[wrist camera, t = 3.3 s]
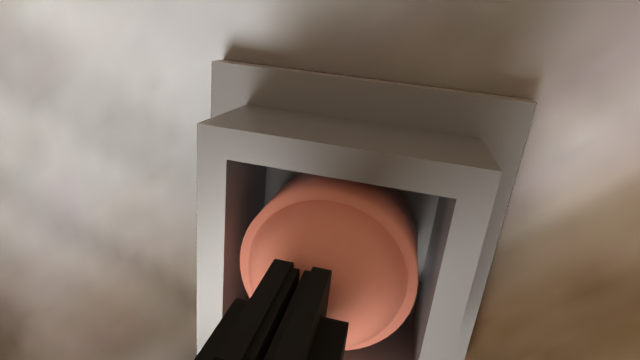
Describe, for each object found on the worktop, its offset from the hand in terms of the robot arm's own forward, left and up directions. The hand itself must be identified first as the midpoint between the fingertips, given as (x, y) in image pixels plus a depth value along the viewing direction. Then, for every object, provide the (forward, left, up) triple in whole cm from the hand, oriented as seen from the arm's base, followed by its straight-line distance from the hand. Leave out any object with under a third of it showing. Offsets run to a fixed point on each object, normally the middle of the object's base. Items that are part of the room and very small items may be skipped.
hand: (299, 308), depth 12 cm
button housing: (0, 0, -7) cm, 7 cm away
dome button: (0, 0, -6) cm, 6 cm away
